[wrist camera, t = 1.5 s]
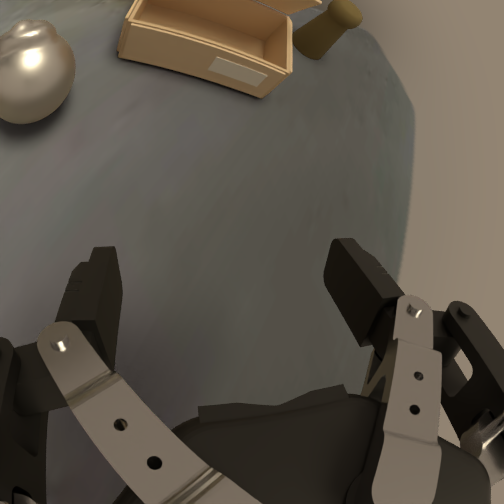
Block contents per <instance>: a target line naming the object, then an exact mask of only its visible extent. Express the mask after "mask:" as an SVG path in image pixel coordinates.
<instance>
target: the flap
mask: <svg viewBox="0 0 504 504" xmlns="http://www.w3.org/2000/svg"><path fill="white" fill-rule="evenodd" d="M256 1H259V2H261V3H263V4H266V5H268V6H270V7H272V8H275V9H277V10H279V11H281V12H283V13H285V14H287V15H289V14H292V13H295V12H297V11H300V10H303V9H306V8H309V7H313V6H316V5H319V4H321V3H322V2H321V1H320V0H256Z"/></svg>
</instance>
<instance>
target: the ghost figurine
mask: <svg viewBox="0 0 504 504" xmlns="http://www.w3.org/2000/svg"><path fill="white" fill-rule="evenodd" d="M75 70H76V64H75V57H74V54H73V51H72V49H71V47H70V45H69V44H68V42H67V41H66V40H65V39H64V38H63V37H61V36H60V35H58V34H57V32H56V29H55V27H54V26H53V25H52V24H51V23H50V22H48V21H45V20H30V19H27V20H22V21H19V22H18V23H16V24H15V25H14V26H13V27H12V29H11V30H10V31H8V32H6V33H5V34H3V35H2V36H1V37H0V118H2V119H3V120H5V121H7V122H10V123H14V124H28V123H33V122H36V121H39V120H41V119H43V118H45V117H47V116H48V115H50V114H51V113H52V112H54V111H55V110H56V109H57V108H58V107H59V106H60V105H61V104H62V102H63V101H64V100H65V98H66V97H67V95H68V93H69V91H70V89H71V87H72V84H73V81H74V77H75Z"/></svg>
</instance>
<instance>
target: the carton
mask: <svg viewBox="0 0 504 504" xmlns="http://www.w3.org/2000/svg"><path fill="white" fill-rule="evenodd" d="M117 51H119V54H118V57H119V58H124V59H128V60H133V61H138V62H142V63H146V64H151V65H155V66H159V67H163V68H167V69H171V70H174V71H178V72H182V73H185V74H189V75H192V76H196V77H199V78H202V79H206V80H209V81H212V82H215V83H218V84H221V85H224V86H227V87H230V88H233V89H236V90H239V91H242V92H245V93H248V94H250V95H253V96H256V97H258V98H261V99H262V98H263V97H265V96H266V95H268V94H269V93H270V92H271V91H272V90H273V89H274V88H275V87H276V86H277V85H279V84H280V83H281V82H282V81H283V80H284V79H285V78H286V77H287V76H289V75H290V74H291V73H292V21H291V20H290V17H288V16H286V15H284V14H282V13H280V12H278V11H276V10H273V9H271V8H269V7H267V6H264V5H262V4H260V3H257V2H255V1H253V0H135V1H134V3H133V5H132V6H131V8H130V10H129V12H128V14H127V15H126V17H125V20H124V24H123V27H122V31H121V35H120V39H119V43H118V47H117Z"/></svg>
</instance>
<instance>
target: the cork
mask: <svg viewBox="0 0 504 504" xmlns="http://www.w3.org/2000/svg"><path fill="white" fill-rule="evenodd" d="M362 19H363V18H362V14H361V12H360V10H359V9H358V8H357V7H356V6H355V5H354V4H353V3H352V2H350V1H349V0H333V1H332V2H331V3H330V4H329V5H328V10H326V11H325V12H323V13H322V14H320V15H319V16H317V17H316V18H314V19H313V20H311V21H310V22H308V23H307V24H305V25H304V26H302V27H301V28H299V29H298V30H296V31H295V32H294V33H293V34H292V42H293V44H294V46H295V47H296V48H297V49H298V50H299V51H300V52H301V53H302V54H303V55H305V56H306V57H308V58H311V59H314V60H318V59H320V58H321V57H322V56H323V55H324V54H325V53H326V52H327V51H328V50H329V48H330V47H331V46H332V45H333V44H334V43H335V42H336V41H337V40H338V39H339V38H340V37H341V36H342V34H343V33H344V32H345V31H346V30H347V29H353V28H355V27H357V26H359V25H360V23H361V22H362Z"/></svg>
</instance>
